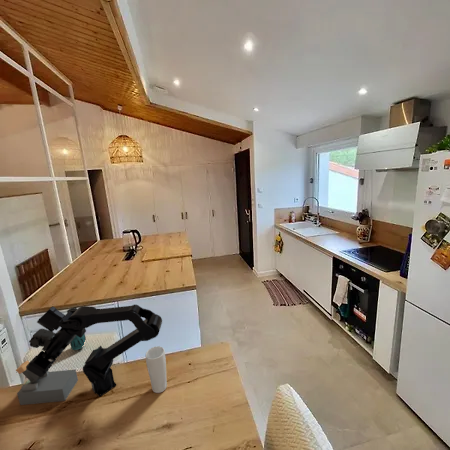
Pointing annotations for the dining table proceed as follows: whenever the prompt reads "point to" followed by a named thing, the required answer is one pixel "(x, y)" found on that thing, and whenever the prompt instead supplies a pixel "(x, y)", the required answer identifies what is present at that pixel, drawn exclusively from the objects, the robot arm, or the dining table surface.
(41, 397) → the base
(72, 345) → the beverage bottle
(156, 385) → the drinking glass
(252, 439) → the dining table surface
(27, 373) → the lever
